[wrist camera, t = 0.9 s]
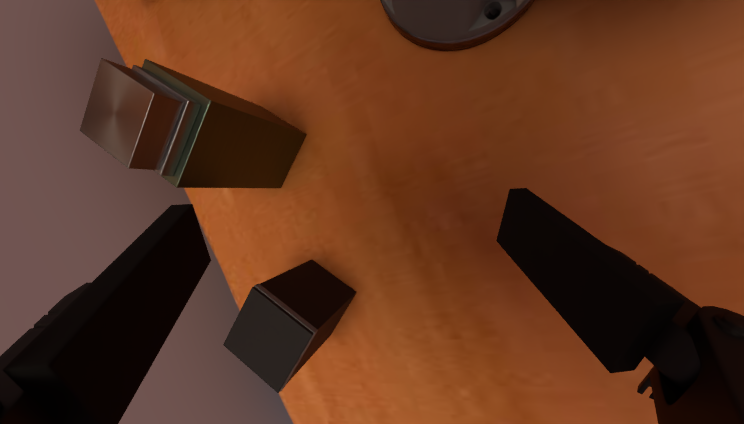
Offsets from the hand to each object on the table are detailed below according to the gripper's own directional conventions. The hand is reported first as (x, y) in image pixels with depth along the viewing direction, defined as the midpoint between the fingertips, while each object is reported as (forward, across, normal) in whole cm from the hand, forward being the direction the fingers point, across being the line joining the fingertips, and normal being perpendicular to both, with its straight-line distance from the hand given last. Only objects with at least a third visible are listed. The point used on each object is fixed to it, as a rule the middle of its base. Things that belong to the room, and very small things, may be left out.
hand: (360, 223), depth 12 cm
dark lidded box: (+14, -4, -18) cm, 24 cm away
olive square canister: (+24, -8, -4) cm, 26 cm away
